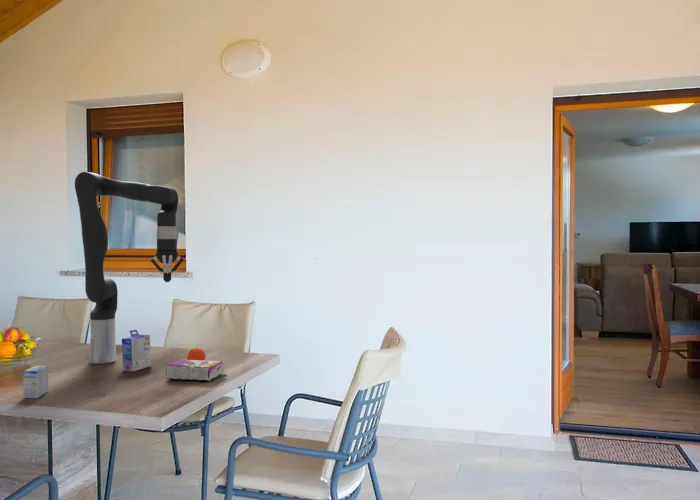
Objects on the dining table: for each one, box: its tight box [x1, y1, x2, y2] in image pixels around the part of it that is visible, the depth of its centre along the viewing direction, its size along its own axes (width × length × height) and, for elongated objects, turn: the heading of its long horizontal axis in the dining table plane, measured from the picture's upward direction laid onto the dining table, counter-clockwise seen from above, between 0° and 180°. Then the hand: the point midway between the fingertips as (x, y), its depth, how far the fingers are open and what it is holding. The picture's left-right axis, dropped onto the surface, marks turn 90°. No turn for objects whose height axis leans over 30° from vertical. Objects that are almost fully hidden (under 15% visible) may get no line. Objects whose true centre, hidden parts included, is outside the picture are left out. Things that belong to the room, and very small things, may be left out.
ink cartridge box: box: [121, 329, 152, 372], centre depth 230 cm, size 10×6×14 cm, turn 155°
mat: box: [176, 369, 228, 381], centre depth 221 cm, size 17×14×1 cm
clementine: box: [184, 347, 206, 361], centre depth 234 cm, size 8×7×7 cm
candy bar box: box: [165, 359, 224, 382], centre depth 215 cm, size 11×5×16 cm
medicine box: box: [23, 365, 49, 399], centre depth 193 cm, size 8×4×9 cm, turn 5°
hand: (167, 282), depth 239 cm, fingers closed
